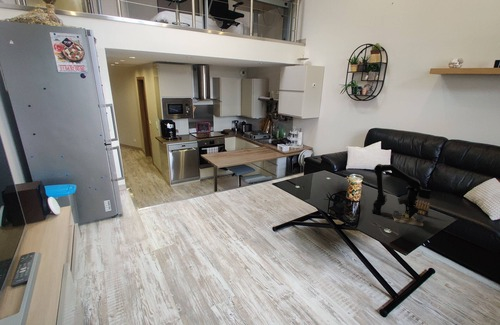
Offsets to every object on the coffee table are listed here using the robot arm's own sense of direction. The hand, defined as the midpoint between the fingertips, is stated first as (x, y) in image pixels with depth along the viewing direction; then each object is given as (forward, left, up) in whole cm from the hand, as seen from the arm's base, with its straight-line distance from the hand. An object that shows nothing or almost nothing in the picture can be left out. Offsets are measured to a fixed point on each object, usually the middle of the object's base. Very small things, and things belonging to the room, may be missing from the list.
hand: (408, 215), depth 181 cm
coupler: (0, 0, -3) cm, 3 cm away
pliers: (+22, -20, -5) cm, 30 cm away
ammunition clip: (-16, +12, -5) cm, 21 cm away
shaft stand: (0, 0, -5) cm, 5 cm away
